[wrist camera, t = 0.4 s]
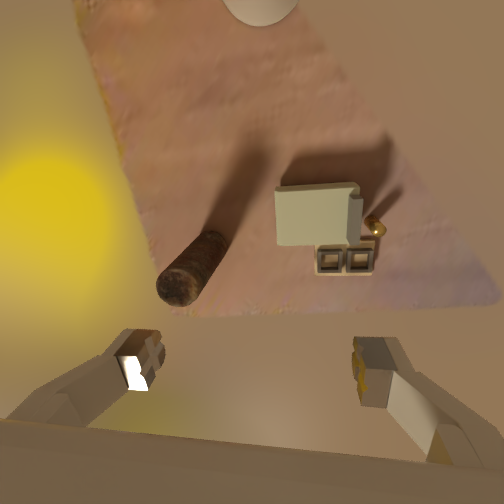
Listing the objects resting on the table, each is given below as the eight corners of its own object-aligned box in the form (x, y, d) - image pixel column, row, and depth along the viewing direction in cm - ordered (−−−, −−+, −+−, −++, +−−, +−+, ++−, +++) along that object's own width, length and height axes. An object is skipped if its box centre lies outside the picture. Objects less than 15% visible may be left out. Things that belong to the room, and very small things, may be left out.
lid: (275, 186, 51) (272, 196, 43) (353, 181, 49) (365, 190, 41) (278, 237, 55) (276, 253, 48) (350, 234, 53) (360, 252, 45)
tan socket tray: (314, 241, 56) (315, 245, 54) (373, 239, 54) (377, 243, 52) (314, 273, 59) (315, 279, 57) (370, 273, 57) (373, 278, 55)
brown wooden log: (191, 235, 60) (146, 278, 42) (218, 223, 58) (184, 264, 40) (206, 263, 62) (171, 315, 44) (233, 253, 60) (207, 304, 42)
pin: (364, 215, 52) (372, 224, 47) (377, 214, 52) (387, 224, 47) (363, 226, 53) (371, 237, 48) (376, 226, 53) (385, 236, 48)
